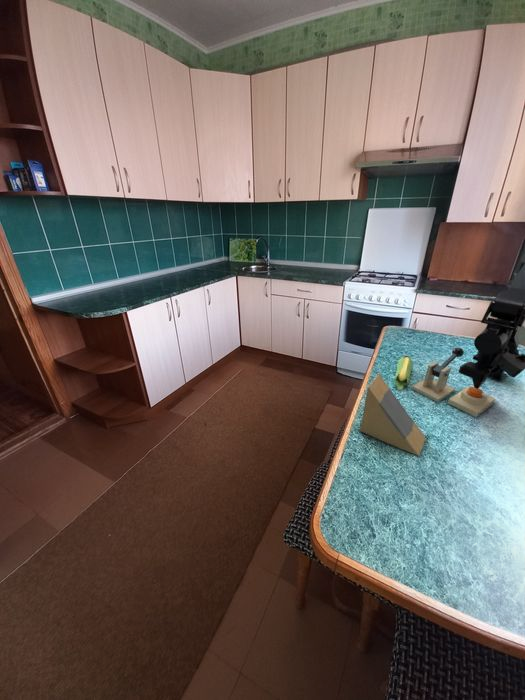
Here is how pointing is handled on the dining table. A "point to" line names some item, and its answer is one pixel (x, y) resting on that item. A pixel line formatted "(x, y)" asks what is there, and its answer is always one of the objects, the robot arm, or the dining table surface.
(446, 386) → the lever stand
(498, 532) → the dining table surface
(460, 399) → the control block
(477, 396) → the button
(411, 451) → the sandwich container
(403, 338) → the dining table surface
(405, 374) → the edible corn
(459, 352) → the black lever handle
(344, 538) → the dining table surface
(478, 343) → the robot arm
